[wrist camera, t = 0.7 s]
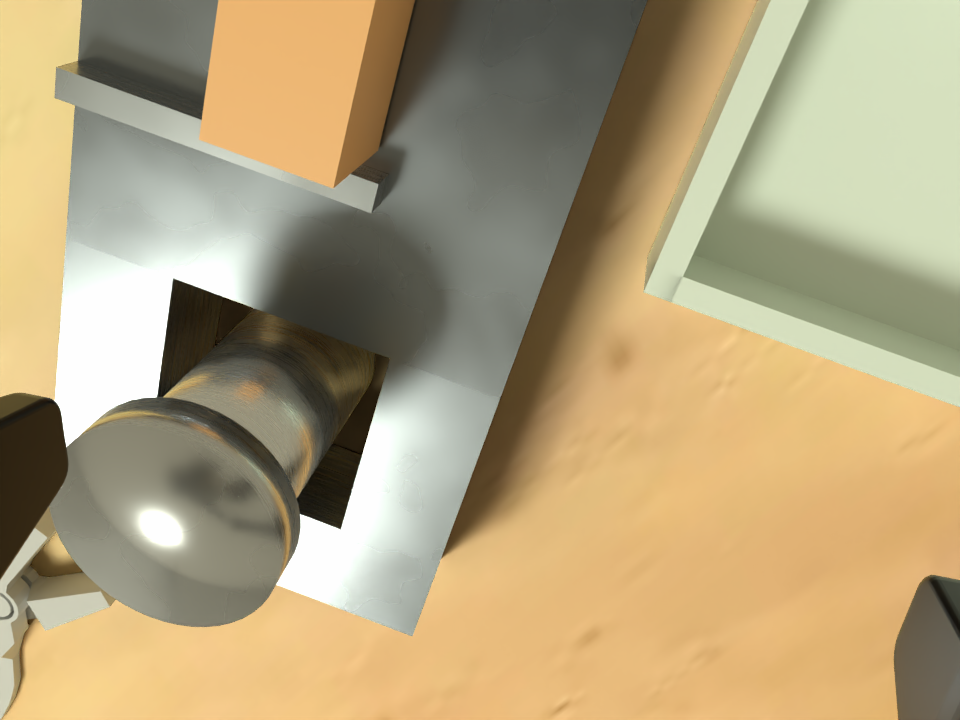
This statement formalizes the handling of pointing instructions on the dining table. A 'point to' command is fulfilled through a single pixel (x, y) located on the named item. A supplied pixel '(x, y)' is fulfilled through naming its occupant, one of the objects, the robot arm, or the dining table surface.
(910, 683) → the robot arm
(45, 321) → the dining table surface
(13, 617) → the pliers
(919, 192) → the tray
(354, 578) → the metallic box with opening
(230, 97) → the block
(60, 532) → the pin
